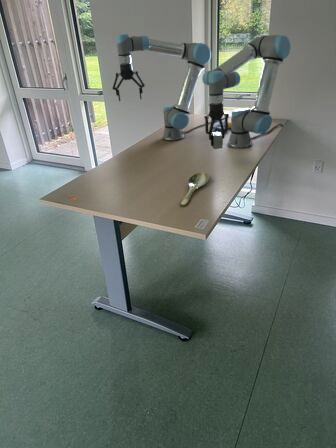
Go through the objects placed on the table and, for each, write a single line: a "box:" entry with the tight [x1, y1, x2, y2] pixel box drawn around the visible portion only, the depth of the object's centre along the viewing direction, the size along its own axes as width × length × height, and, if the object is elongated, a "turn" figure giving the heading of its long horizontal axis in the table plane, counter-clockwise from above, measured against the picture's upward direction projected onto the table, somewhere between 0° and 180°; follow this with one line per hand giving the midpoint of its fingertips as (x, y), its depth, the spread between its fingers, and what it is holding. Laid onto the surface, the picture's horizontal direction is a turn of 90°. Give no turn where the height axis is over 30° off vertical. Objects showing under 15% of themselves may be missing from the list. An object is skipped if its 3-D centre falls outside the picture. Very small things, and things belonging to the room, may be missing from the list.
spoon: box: [180, 171, 210, 207], centre depth 170 cm, size 35×11×2 cm, turn 159°
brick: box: [211, 131, 223, 150], centre depth 191 cm, size 7×5×8 cm
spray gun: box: [212, 120, 231, 132], centre depth 256 cm, size 21×4×15 cm
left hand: (130, 99), depth 214 cm, fingers open, 13 cm apart
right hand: (216, 144), depth 192 cm, fingers closed on brick, 5 cm apart
